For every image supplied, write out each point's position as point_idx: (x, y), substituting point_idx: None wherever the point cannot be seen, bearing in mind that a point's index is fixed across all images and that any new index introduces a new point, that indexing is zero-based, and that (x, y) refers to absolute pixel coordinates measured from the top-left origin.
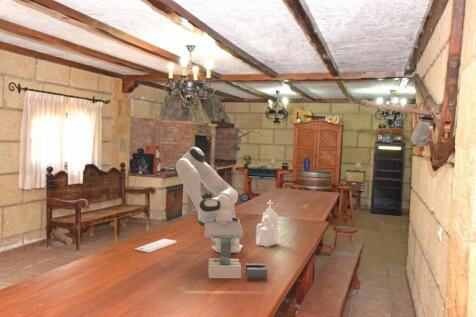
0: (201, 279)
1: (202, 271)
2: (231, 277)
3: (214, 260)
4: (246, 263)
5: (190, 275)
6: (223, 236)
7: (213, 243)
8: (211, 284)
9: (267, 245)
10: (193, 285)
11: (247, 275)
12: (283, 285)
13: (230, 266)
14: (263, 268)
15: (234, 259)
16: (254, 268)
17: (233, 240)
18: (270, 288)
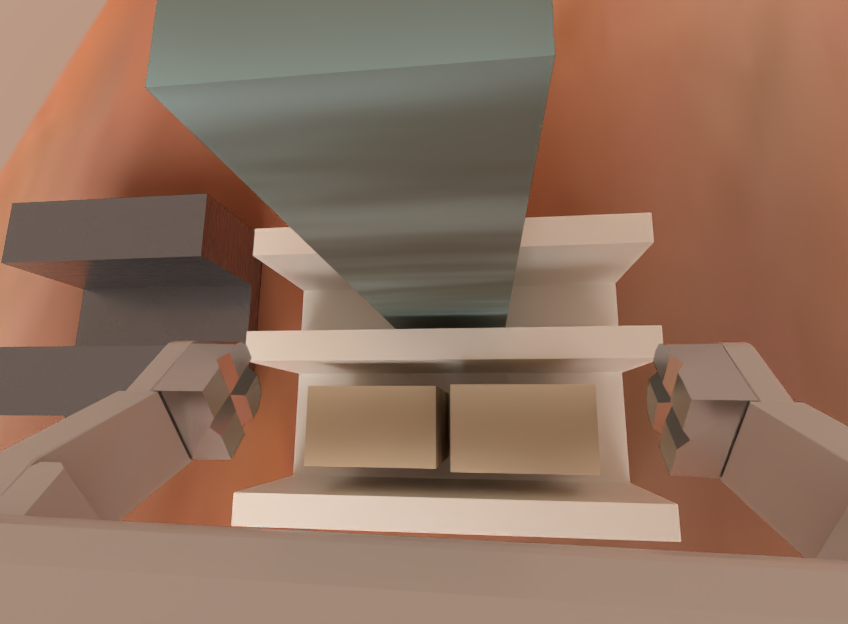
0: (685, 263)
1: (695, 517)
2: None
3: (591, 384)
4: None
5: (821, 377)
6: (453, 54)
7: (740, 342)
8: (581, 146)
9: None
10: (746, 111)
11: (237, 220)
12: (11, 166)
13: None
14: (37, 234)
15: (295, 502)
16: (128, 228)
17: (139, 401)
18: (123, 101)
